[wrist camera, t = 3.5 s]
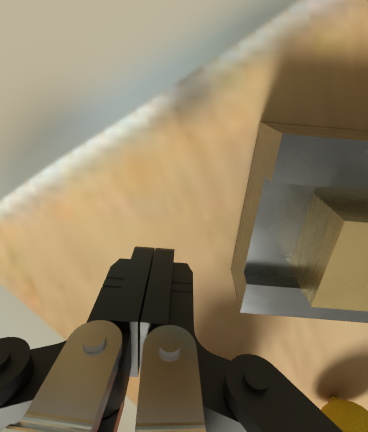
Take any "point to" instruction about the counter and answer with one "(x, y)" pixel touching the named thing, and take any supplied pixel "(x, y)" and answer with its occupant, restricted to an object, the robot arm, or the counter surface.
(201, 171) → the counter surface
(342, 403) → the lemon
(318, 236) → the yellow block
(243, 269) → the slot plate
